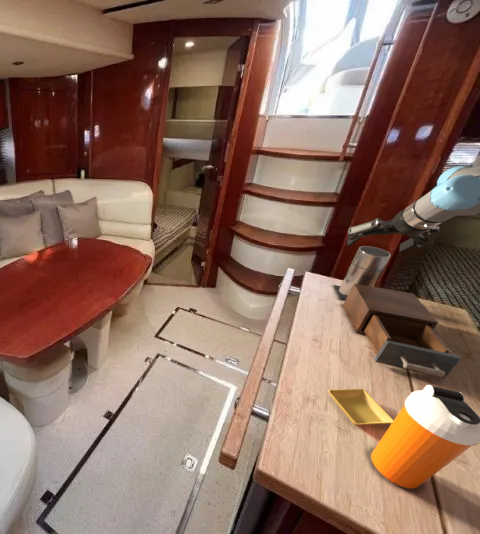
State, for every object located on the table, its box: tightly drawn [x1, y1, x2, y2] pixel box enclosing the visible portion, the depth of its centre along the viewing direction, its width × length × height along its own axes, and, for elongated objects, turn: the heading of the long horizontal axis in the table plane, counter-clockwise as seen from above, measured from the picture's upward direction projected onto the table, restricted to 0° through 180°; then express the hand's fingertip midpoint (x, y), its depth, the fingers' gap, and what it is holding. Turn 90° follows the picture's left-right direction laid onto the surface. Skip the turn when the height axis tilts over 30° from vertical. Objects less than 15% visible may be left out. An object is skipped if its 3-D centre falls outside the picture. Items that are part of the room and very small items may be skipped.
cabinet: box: [342, 284, 439, 336], centre depth 92 cm, size 15×15×9 cm
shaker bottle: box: [370, 384, 480, 489], centre depth 54 cm, size 9×9×20 cm
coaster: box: [333, 284, 347, 301], centre depth 108 cm, size 9×9×1 cm
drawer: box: [364, 313, 462, 379], centre depth 80 cm, size 18×14×7 cm
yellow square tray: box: [328, 388, 395, 426], centre depth 69 cm, size 9×9×2 cm
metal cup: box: [338, 245, 392, 297], centre depth 103 cm, size 8×8×17 cm
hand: (374, 245), depth 100 cm, fingers open, 13 cm apart
